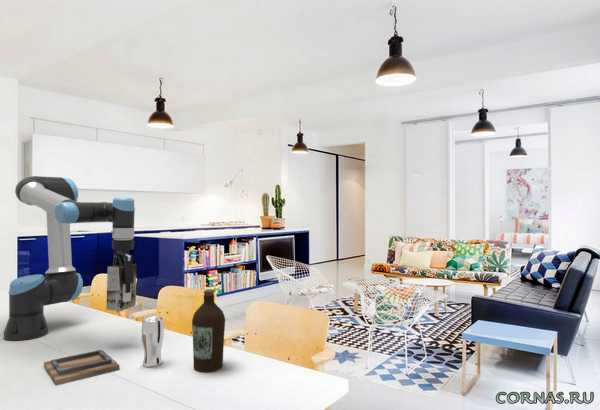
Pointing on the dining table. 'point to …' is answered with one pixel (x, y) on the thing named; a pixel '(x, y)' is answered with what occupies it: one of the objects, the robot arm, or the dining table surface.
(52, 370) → the pocket board
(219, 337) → the olive oil
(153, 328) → the beer glass
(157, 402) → the dining table surface
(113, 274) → the coffee box
